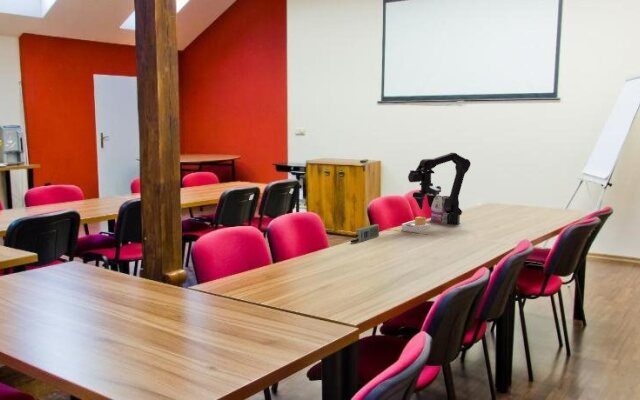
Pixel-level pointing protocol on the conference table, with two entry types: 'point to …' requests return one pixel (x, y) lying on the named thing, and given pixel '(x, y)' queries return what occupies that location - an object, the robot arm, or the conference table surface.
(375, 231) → the handheld radio
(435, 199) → the candy bar box
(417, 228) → the white box
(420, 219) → the orange cube
